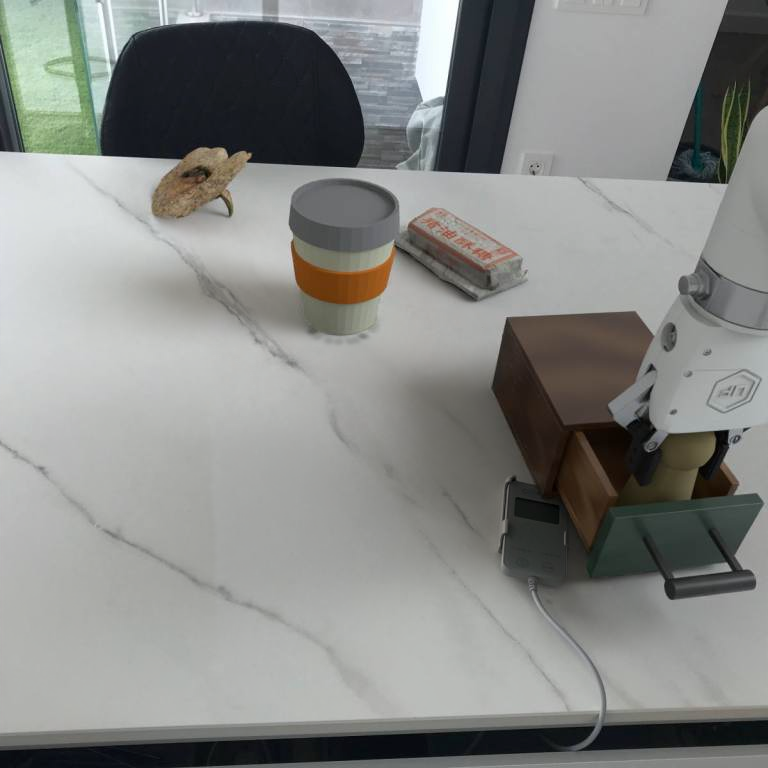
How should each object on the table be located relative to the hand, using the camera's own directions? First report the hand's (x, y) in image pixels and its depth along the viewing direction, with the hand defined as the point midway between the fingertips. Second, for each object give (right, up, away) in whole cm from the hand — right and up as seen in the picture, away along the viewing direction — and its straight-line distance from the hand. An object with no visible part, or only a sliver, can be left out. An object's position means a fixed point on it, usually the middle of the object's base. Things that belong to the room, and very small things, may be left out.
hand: (668, 469), depth 65 cm
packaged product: (-14, +24, +42) cm, 50 cm away
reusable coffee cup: (-29, +16, +30) cm, 45 cm away
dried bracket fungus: (-51, +33, +49) cm, 78 cm away
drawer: (-1, -6, +6) cm, 8 cm away
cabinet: (-3, +2, +16) cm, 17 cm away
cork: (-1, -5, +4) cm, 6 cm away
